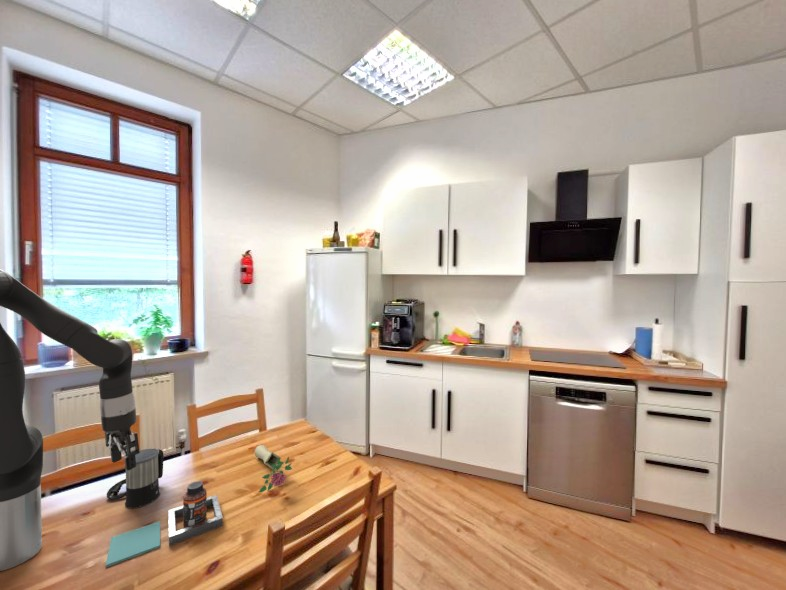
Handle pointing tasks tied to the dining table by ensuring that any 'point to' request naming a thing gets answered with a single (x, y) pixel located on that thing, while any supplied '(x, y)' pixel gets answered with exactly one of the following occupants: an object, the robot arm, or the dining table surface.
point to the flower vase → (272, 466)
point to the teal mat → (133, 543)
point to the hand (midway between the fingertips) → (123, 464)
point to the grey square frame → (197, 528)
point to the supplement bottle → (194, 504)
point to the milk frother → (141, 480)
